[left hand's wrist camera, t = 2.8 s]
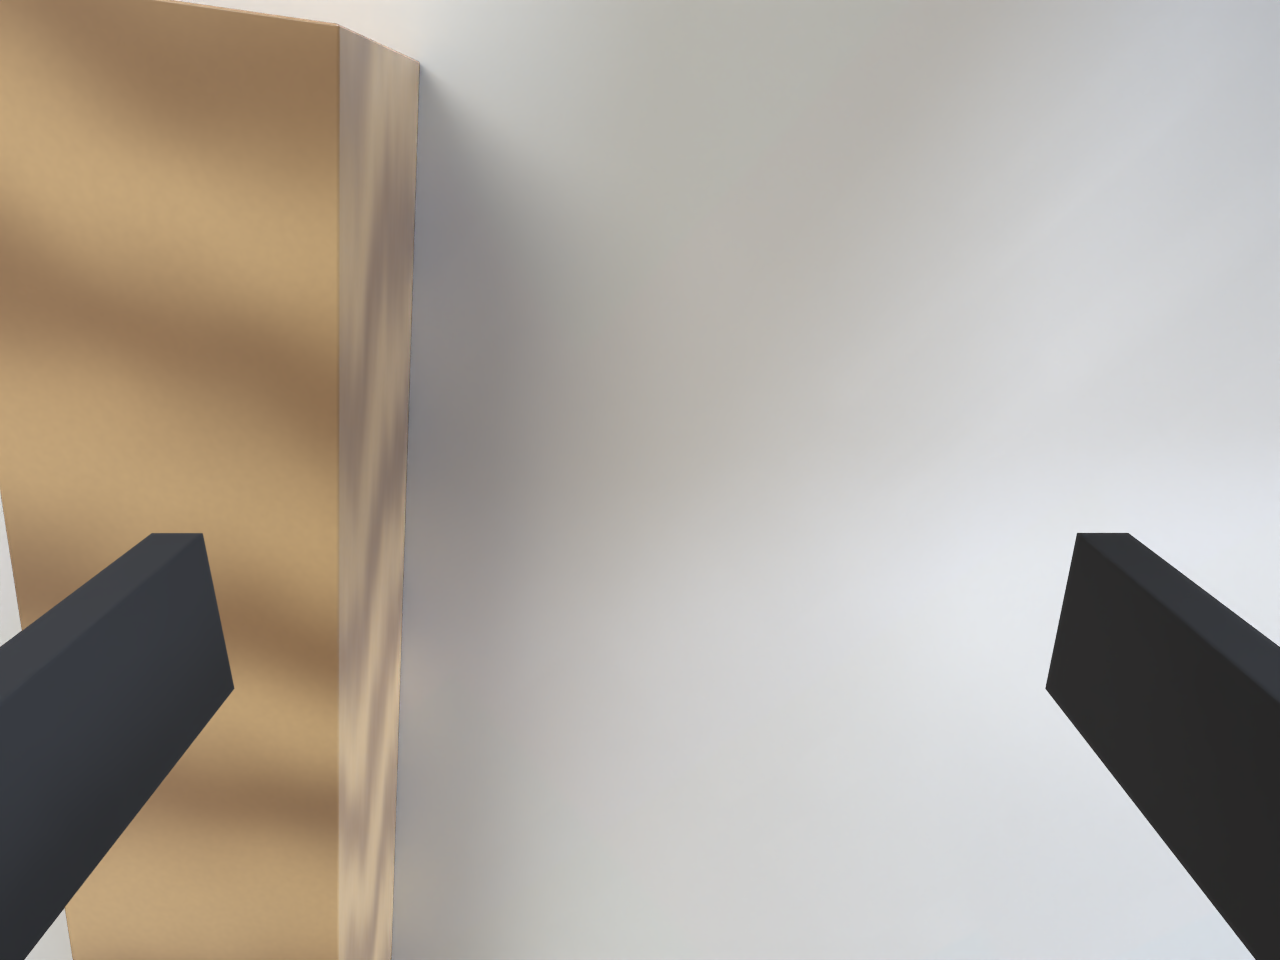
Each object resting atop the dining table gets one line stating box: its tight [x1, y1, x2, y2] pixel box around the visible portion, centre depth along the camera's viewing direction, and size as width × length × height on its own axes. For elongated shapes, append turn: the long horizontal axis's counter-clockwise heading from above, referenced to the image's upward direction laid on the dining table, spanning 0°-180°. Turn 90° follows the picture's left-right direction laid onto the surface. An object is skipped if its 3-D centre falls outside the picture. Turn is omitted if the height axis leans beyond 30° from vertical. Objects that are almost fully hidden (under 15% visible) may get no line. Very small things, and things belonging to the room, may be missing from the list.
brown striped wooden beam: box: [0, 0, 420, 960], centre depth 31 cm, size 59×9×7 cm, turn 173°
